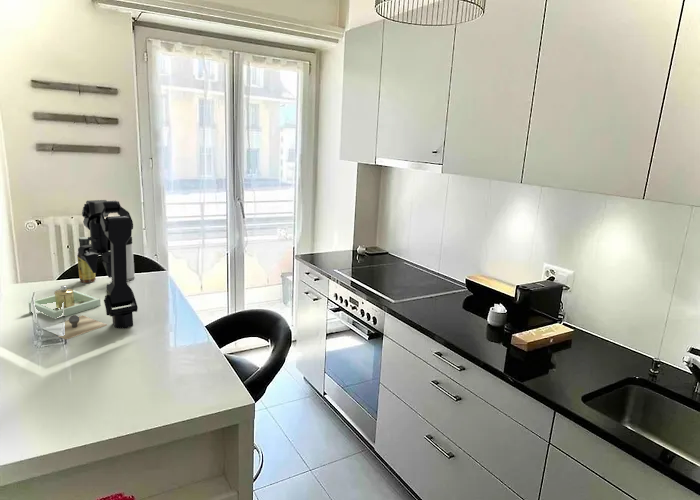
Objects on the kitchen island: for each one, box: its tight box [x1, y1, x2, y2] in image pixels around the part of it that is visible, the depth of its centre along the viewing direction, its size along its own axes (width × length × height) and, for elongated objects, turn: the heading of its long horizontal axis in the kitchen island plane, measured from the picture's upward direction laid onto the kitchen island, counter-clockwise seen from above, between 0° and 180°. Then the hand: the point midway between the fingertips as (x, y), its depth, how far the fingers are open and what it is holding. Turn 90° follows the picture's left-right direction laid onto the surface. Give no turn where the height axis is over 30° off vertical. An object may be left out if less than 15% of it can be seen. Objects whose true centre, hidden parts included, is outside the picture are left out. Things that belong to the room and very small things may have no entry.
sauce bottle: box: [76, 236, 97, 284], centre depth 196 cm, size 6×6×20 cm
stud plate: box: [57, 314, 108, 341], centre depth 151 cm, size 14×14×6 cm
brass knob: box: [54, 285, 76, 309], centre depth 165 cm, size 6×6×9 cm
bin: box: [27, 289, 101, 319], centre depth 166 cm, size 16×16×4 cm
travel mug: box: [126, 236, 136, 282], centre depth 202 cm, size 6×7×20 cm
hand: (102, 275), depth 169 cm, fingers open, 9 cm apart
